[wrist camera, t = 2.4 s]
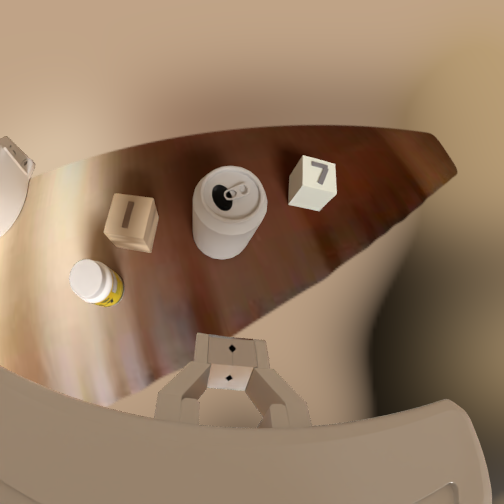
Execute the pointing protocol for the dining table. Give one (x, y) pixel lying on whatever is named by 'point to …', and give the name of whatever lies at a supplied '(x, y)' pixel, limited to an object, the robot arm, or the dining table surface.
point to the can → (227, 211)
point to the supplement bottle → (96, 283)
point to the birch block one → (132, 222)
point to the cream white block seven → (312, 183)
